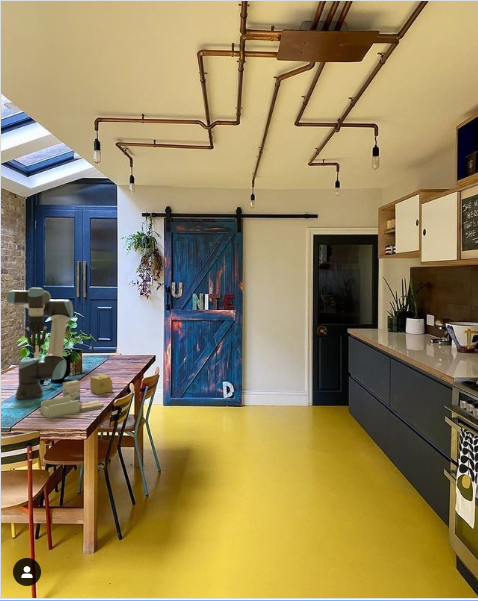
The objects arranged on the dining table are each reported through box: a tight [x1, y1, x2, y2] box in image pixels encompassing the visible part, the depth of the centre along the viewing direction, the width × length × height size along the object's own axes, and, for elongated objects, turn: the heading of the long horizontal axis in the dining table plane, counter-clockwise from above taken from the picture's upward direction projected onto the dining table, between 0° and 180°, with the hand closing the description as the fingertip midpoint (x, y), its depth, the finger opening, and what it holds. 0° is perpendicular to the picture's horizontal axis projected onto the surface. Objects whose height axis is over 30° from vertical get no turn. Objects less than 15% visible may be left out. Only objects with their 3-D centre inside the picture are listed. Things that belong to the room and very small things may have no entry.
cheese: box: [89, 374, 114, 395], centre depth 272 cm, size 10×11×10 cm
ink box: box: [62, 380, 81, 401], centre depth 250 cm, size 9×5×12 cm, turn 141°
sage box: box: [40, 396, 80, 420], centre depth 227 cm, size 12×16×7 cm
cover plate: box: [79, 399, 105, 412], centre depth 238 cm, size 9×15×4 cm, turn 134°
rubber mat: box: [79, 406, 103, 413], centre depth 238 cm, size 14×12×1 cm
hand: (36, 357), depth 232 cm, fingers closed
